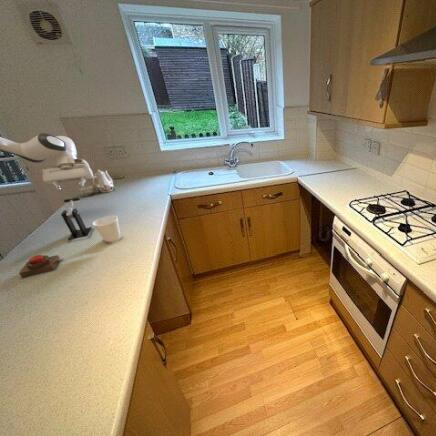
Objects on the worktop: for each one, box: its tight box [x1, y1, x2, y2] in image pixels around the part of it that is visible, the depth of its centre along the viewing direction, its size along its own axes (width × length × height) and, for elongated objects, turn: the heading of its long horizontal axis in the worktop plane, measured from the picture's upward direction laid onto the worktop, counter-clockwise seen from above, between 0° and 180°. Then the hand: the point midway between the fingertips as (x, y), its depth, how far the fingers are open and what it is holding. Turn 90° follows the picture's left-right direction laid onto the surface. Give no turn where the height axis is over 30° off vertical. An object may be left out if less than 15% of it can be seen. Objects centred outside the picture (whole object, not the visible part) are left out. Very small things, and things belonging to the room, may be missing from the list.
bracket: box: [60, 208, 93, 241], centre depth 119 cm, size 10×8×14 cm
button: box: [28, 254, 44, 264], centre depth 98 cm, size 4×4×2 cm
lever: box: [63, 197, 81, 219], centre depth 119 cm, size 12×6×2 cm, turn 26°
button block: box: [18, 254, 60, 279], centre depth 99 cm, size 10×8×4 cm
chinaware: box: [78, 169, 116, 197], centre depth 176 cm, size 28×17×17 cm, turn 178°
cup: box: [91, 215, 122, 243], centre depth 115 cm, size 10×10×11 cm
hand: (70, 187), depth 124 cm, fingers open, 8 cm apart
